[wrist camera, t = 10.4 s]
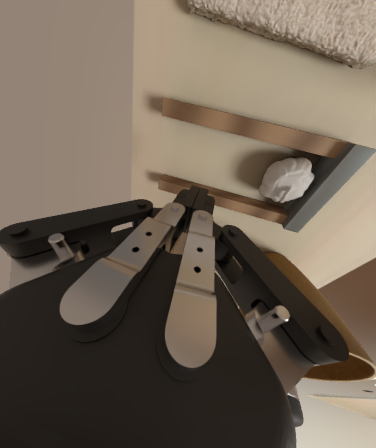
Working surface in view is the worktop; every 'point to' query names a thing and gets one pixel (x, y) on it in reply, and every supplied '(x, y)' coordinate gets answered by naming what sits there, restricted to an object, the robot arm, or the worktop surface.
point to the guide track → (327, 147)
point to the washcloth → (304, 24)
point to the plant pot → (358, 358)
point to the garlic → (287, 179)
